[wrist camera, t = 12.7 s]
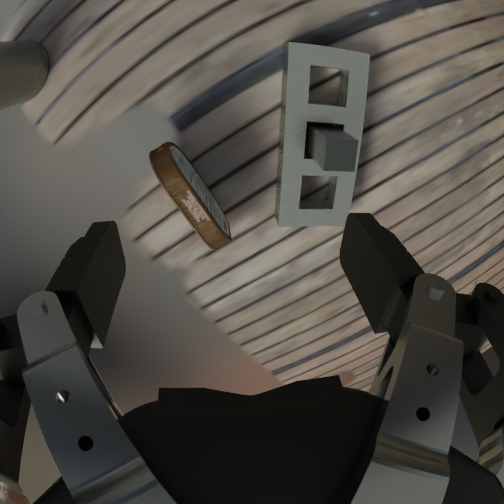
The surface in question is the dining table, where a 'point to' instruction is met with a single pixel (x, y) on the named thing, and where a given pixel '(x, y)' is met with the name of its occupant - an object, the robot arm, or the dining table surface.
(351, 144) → the square peg
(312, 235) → the dining table surface
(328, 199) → the rail
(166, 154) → the tin
